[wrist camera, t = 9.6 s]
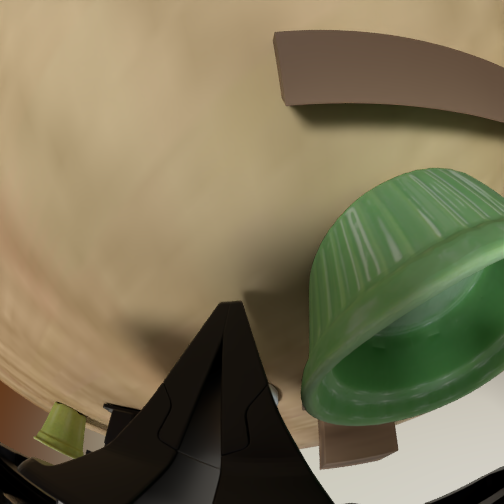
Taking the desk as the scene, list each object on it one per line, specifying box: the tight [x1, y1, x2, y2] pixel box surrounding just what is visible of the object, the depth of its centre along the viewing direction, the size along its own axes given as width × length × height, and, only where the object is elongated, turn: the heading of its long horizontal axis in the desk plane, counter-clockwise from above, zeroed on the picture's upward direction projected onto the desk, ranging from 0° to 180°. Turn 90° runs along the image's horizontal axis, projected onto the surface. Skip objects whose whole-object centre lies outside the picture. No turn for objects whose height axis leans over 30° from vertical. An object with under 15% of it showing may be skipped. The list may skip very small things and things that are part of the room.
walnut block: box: [318, 420, 398, 470], centre depth 16 cm, size 5×5×5 cm
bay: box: [273, 30, 504, 410], centre depth 9 cm, size 17×12×2 cm
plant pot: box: [34, 402, 86, 459], centre depth 28 cm, size 9×9×9 cm
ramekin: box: [301, 168, 504, 426], centre depth 7 cm, size 9×9×4 cm
